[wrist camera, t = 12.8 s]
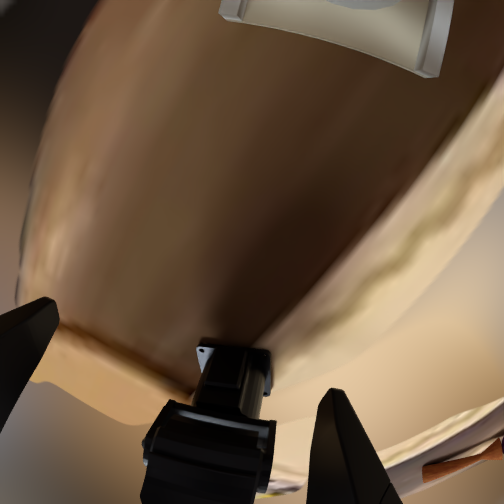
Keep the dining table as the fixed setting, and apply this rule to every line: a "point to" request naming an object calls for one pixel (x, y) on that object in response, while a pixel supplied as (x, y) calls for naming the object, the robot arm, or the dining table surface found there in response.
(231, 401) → the robot arm
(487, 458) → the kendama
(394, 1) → the can
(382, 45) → the rail dock
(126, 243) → the dining table surface
